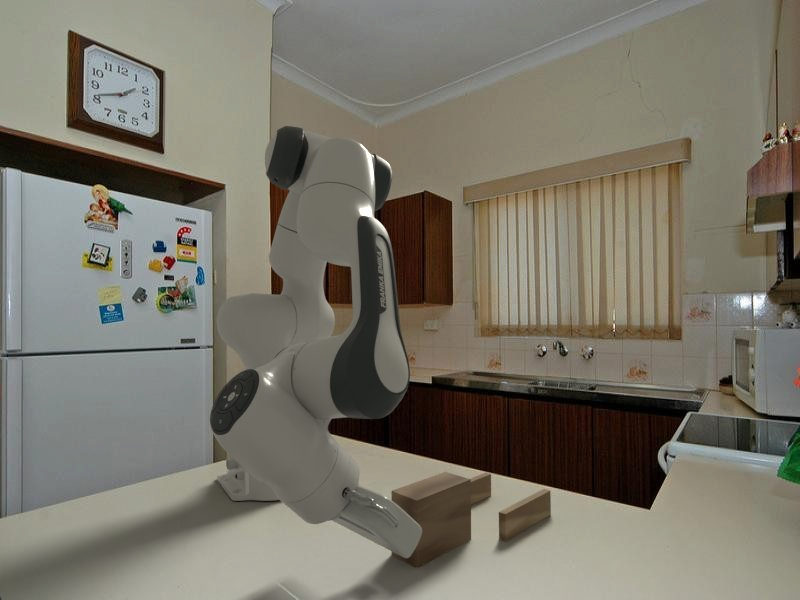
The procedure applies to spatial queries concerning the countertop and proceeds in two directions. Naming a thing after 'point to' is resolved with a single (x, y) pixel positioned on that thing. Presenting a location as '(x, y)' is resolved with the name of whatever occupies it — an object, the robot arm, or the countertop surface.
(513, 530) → the channel
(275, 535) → the countertop surface
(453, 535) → the walnut block
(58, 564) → the countertop surface
